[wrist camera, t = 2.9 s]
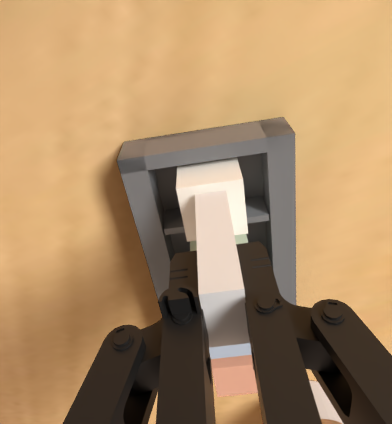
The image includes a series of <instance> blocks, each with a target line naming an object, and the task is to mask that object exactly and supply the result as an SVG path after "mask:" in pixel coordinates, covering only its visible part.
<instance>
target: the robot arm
mask: <svg viewBox="0 0 392 424" xmlns="http://www.w3.org/2000/svg"><path fill="white" fill-rule="evenodd" d="M195 213H196V240H197V250H196V251H189V252H181V253H175V255H174V257H173V258H172V260H171V262H170V276H169V279H170V280H169V288H168V289H167V290H165V291H164V292H163V293H162V294H161V295H160V297H159V300H158V303H159V307H160V310H161V313H162V319H161V320H159V321H158V322H157V323H155V324H153V325H151V326H149V327H147V328H144V329H142V330H140V329H139V328H137V327H136V326H133V325H122V326H120V327H117V328H115V329H114V330H113V331H111V332H110V333H109V334H108V335H107V337H106V338H105V340H104V342H103V344H102V346H101V348H100V350H99V352H98V354H97V356H96V358H95V360H94V362H93V364H92V366H91V368H90V370H89V372H88V374H87V376H86V378H85V380H84V382H83V384H82V386H81V388H80V390H79V392H78V394H77V396H76V398H75V400H74V402H73V404H72V406H71V408H70V410H69V412H68V414H67V416H66V418H65V420H64V422H63V424H148V421H149V418H150V415H151V411H152V408H153V405H154V402H155V398H156V395H157V392H158V401H157V416H156V424H216V423H215V409H214V394H213V379H212V364H211V358H210V353H209V347H210V348H211V347H220V346H228V345H237V344H245V343H250V346H251V354H252V363H253V370H254V373H255V378H256V384H257V390H258V396H259V402H260V408H261V414H262V420H263V424H322V422H321V418H320V415H319V412H318V408H317V405H316V402H315V399H314V395H313V392H312V389H311V385H310V382H309V379H308V375H307V372H306V369H311V370H312V373H313V374H314V376H315V377H316V379H317V381H318V382H319V384H320V386H321V387H322V389H323V391H324V392H325V394H326V396H327V397H328V399H329V401H330V402H331V404H332V405H333V407H334V409H335V410H336V412H337V414H338V415H339V417H340V419H341V420H342V422H343V424H392V355H391V354H390V353H389V352H388V351H387V350H386V348H385V347H384V346H383V345H382V344H381V343H380V341H379V340H378V339H377V338H376V337H375V336H374V334H373V333H372V332H371V331H370V330H369V329H368V327H367V326H366V325H365V324H364V323H363V322H362V320H361V319H360V318H359V317H358V316H357V315H356V313H355V312H354V311H353V310H352V309H351V308H350V307H349V306H348V305H346V304H345V303H343V302H340V301H338V300H332V299H327V300H321V301H319V302H317V303H315V304H314V306H313V307H312V308H308V307H301V306H296V305H293V304H291V303H289V302H288V301H286V300H285V299H284V298H283V297H282V296H281V294H280V292H279V289H278V286H277V282H276V279H275V276H274V272H273V269H272V266H271V262H270V259H269V255H268V252H267V249H266V247H264V246H263V245H262V244H261V243H260V242H259V241H257V242H250V243H242V244H236V241H235V236H234V231H233V225H232V220H231V215H230V209H229V204H228V198H227V193H226V190H223V191H216V192H209V193H202V194H195ZM305 368H306V369H305Z"/></svg>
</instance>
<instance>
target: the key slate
mask: <svg viewBox="0 0 392 424" xmlns="http://www.w3.org/2000/svg"><path fill="white" fill-rule="evenodd" d="M209 353H210V358H211V359H218V358H227V357H235V356H244V355H252V354H251V346H250V343H245V344H237V345H228V346H220V347H211V348H210V347H209Z"/></svg>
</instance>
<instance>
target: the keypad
mask: <svg viewBox="0 0 392 424" xmlns="http://www.w3.org/2000/svg"><path fill="white" fill-rule="evenodd" d="M233 157H237V159H238V163H239V166H240V170H241V173H242V177H243V184H244V194H245V205H246V215H247V226H248V234H246V235H247V239H248V243H250V242H257V241H259V242H260V243H261V244H262V245H263V246H264V247H266V249H267V252H268V255H269V259H270V262H271V266H272V269H273V272H274V276H275V279H276V282H277V286H278V289H279V292H280V294H281V296H282V297H283V298H284V299H285V300H286V301H288V302H289V303H291V304H293V305H296V201H295V132H294V131H293V130H292V128H291V127H290V125H289V124H288V122H287V121H286V120H285V118H284V117H280V118H274V119H267V120H261V121H255V122H248V123H242V124H235V125H229V126H223V127H216V128H210V129H203V130H197V131H190V132H184V133H178V134H171V135H165V136H158V137H152V138H146V139H139V140H133V141H126V142H124V143H123V145H122V148H121V151H120V153H119V156H118V158H117V163H118V167H119V170H120V173H121V177H122V180H123V183H124V187H125V190H126V193H127V197H128V200H129V204H130V207H131V210H132V214H133V217H134V220H135V224H136V227H137V230H138V234H139V237H140V241H141V244H142V247H143V251H144V254H145V257H146V261H147V264H148V267H149V271H150V274H151V278H152V281H153V284H154V288H155V291H156V294H157V298H158V300H159V297H160V295H161V294H162V293H163V292H164V291H165V290H167V289H168V288H169V280H170V279H169V276H170V262H171V260H172V258H173V257H174V255H175V253H181V252H189V251H190V241H189V242H187V239H186V234H185V229H184V225H183V220H182V215H181V210H180V205H179V201H178V196H177V191H176V179H177V166H180V165H187V164H193V163H200V162H207V161H213V160H220V159H227V158H233Z"/></svg>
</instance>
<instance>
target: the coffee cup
mask: <svg viewBox="0 0 392 424" xmlns="http://www.w3.org/2000/svg"><path fill="white" fill-rule="evenodd" d="M309 382H310V385H311V389H312V392H313V395H314V399H315V402H316V405H317V408H318V412H319V415H320V418H321V422H322V424H343V422H342V420H341V419H340V417H339V415H338V414H337V412H336V410H335V409H334V407H333V405H332V404H331V402H330V401H329V399H328V397H327V396H326V394H325V392H324V391H323V389H322V387H321V386H320V384H319V382H317V381H310V380H309Z"/></svg>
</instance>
